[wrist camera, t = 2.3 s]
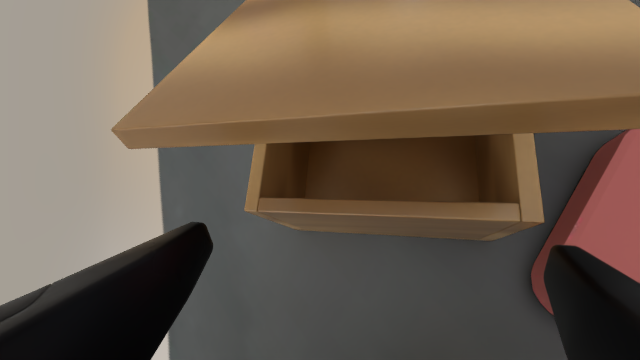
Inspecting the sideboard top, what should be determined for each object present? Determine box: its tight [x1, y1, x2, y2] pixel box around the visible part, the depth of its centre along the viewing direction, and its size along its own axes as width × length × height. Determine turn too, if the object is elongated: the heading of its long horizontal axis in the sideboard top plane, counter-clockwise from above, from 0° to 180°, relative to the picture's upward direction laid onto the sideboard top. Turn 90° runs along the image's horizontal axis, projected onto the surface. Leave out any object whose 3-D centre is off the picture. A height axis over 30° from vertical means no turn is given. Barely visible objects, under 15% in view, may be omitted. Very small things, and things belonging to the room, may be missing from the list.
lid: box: [112, 0, 640, 149], centre depth 12 cm, size 16×14×1 cm
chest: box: [244, 133, 544, 241], centre depth 19 cm, size 16×14×8 cm
